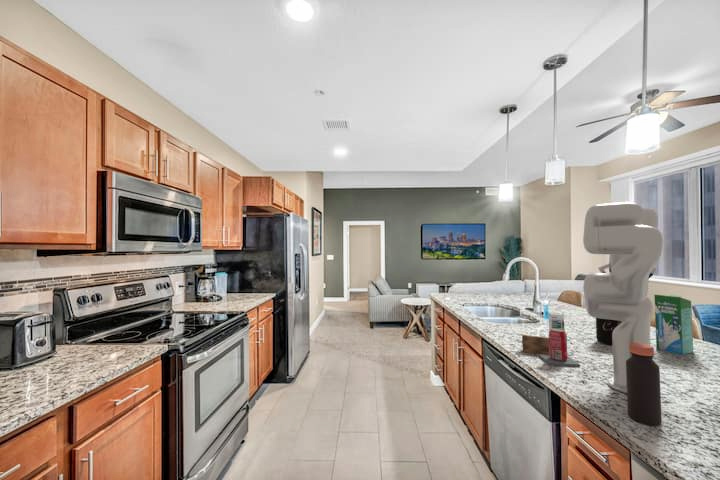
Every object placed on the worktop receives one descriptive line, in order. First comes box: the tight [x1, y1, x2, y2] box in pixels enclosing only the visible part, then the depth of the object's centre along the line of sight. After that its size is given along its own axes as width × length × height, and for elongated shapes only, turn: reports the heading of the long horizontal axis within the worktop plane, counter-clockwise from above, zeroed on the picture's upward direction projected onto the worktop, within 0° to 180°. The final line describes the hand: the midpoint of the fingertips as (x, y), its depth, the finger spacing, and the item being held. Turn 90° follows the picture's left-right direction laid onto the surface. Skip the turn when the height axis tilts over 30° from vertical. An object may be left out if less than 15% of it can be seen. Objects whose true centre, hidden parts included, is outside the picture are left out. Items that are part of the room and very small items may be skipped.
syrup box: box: [548, 311, 565, 331], centre depth 154 cm, size 6×6×14 cm
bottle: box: [626, 343, 663, 427], centre depth 85 cm, size 7×7×20 cm
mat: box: [537, 354, 581, 368], centre depth 128 cm, size 11×11×1 cm
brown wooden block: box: [521, 334, 550, 355], centre depth 139 cm, size 14×5×7 cm, turn 61°
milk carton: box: [653, 294, 694, 355], centre depth 140 cm, size 9×9×25 cm
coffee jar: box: [595, 318, 622, 347], centre depth 152 cm, size 11×11×18 cm
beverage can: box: [548, 328, 568, 361], centre depth 128 cm, size 6×6×12 cm
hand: (626, 289), depth 121 cm, fingers open, 9 cm apart
